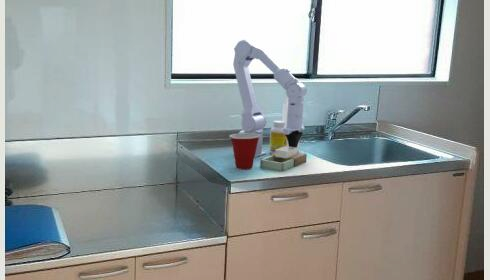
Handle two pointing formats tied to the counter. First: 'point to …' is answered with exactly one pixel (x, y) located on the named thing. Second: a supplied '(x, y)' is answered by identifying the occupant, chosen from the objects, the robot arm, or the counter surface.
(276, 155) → the tile front
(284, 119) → the milk
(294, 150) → the tile back
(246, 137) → the plastic cup
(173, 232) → the counter surface
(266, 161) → the tray
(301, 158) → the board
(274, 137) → the supplement bottle
